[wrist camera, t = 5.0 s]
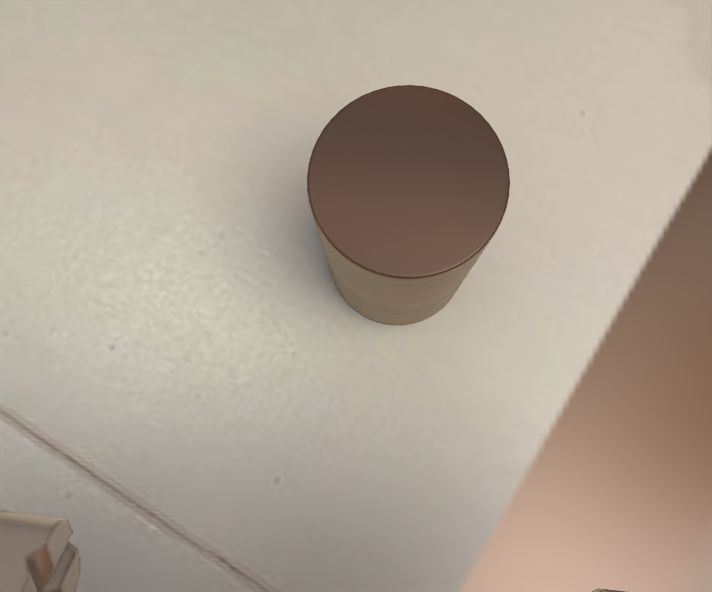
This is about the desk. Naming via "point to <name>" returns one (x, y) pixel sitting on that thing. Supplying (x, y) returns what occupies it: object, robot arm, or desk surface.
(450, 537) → the desk surface
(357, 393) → the desk surface
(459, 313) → the desk surface
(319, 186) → the brown cylinder
